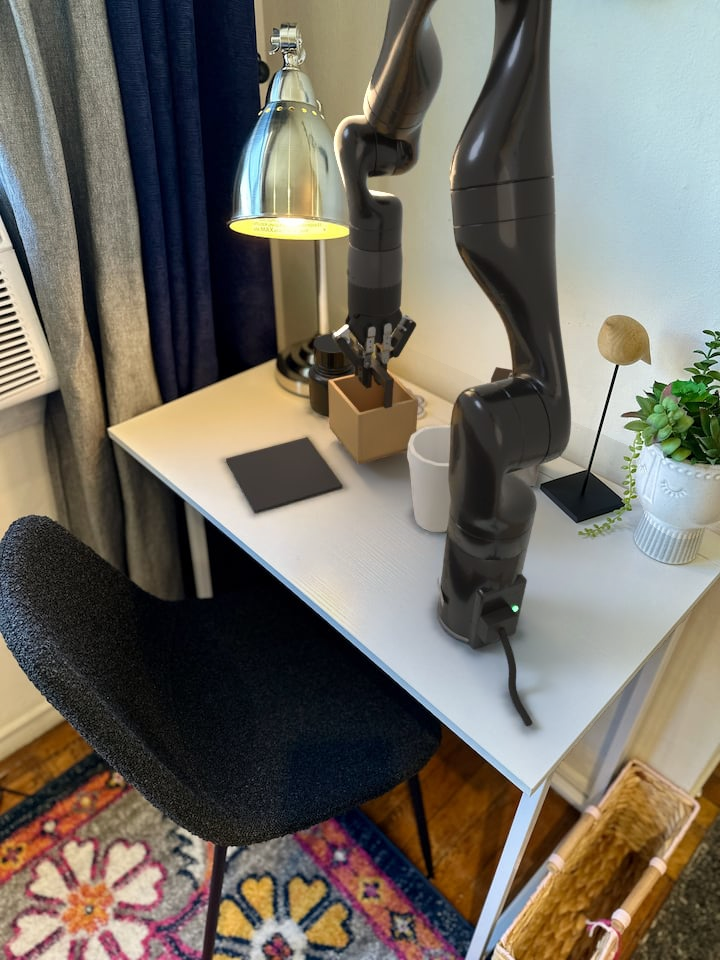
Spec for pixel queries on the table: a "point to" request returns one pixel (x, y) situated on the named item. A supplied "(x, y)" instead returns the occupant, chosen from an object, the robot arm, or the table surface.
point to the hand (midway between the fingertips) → (372, 383)
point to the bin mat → (282, 474)
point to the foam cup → (430, 476)
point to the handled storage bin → (372, 414)
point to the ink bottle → (326, 371)
